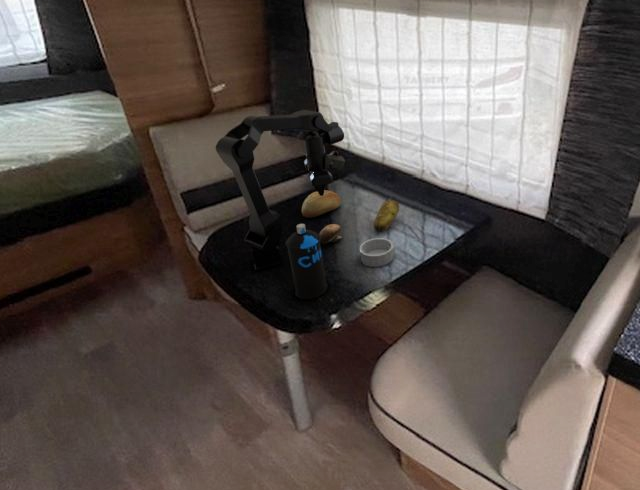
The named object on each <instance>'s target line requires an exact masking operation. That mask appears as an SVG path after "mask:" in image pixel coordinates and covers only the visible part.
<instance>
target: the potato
mask: <svg viewBox="0 0 640 490" xmlns="http://www.w3.org/2000/svg"><path fill="white" fill-rule="evenodd" d="M399 211H400V204H399V203H398V202H397V201H396V200H392V199H390V200H385V201H384V202H383V203H382V204H381V205H380V207H379V209H378V211H377V214H376V216H375V218H374V221H373V227H374V230H375V231H376V232H377V233H384V232H386V231H387V230H388V229H389V227H390V226H391V225H392V224H393V223H394V221H395V219H396V218H397V216H398V214H399Z"/></svg>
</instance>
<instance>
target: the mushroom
mask: <svg viewBox="0 0 640 490" xmlns="http://www.w3.org/2000/svg"><path fill="white" fill-rule="evenodd" d="M341 230H342V227H341V225H340V224H337V223H331V224H327V225H325V226H324V227H323V228H322V229H321V230H320V231H319V233H318V234H319V236H320V240H319V241H320V244H322V245H325V244H327V243H329V242H331V243H335V242H337V241H339V240H341V239H343V237H342V236H340V234H339V233H340V232H341Z"/></svg>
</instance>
